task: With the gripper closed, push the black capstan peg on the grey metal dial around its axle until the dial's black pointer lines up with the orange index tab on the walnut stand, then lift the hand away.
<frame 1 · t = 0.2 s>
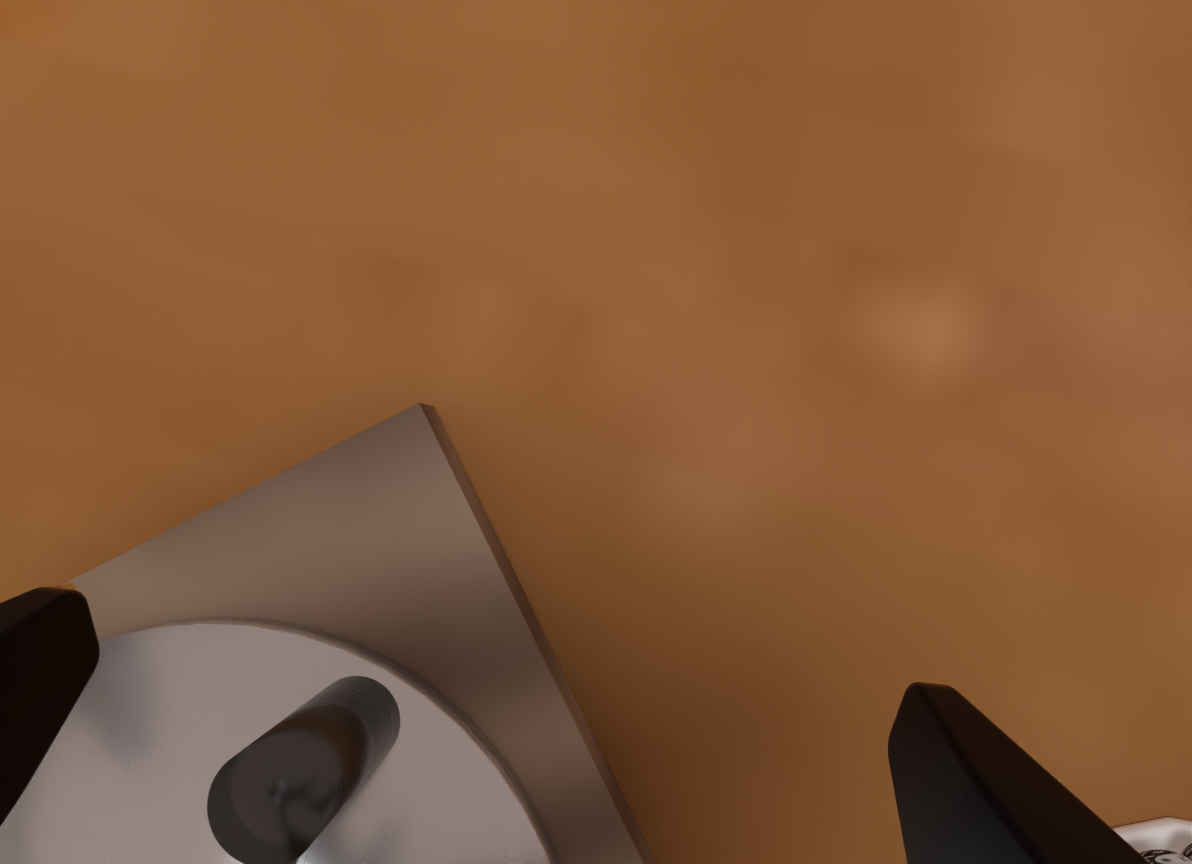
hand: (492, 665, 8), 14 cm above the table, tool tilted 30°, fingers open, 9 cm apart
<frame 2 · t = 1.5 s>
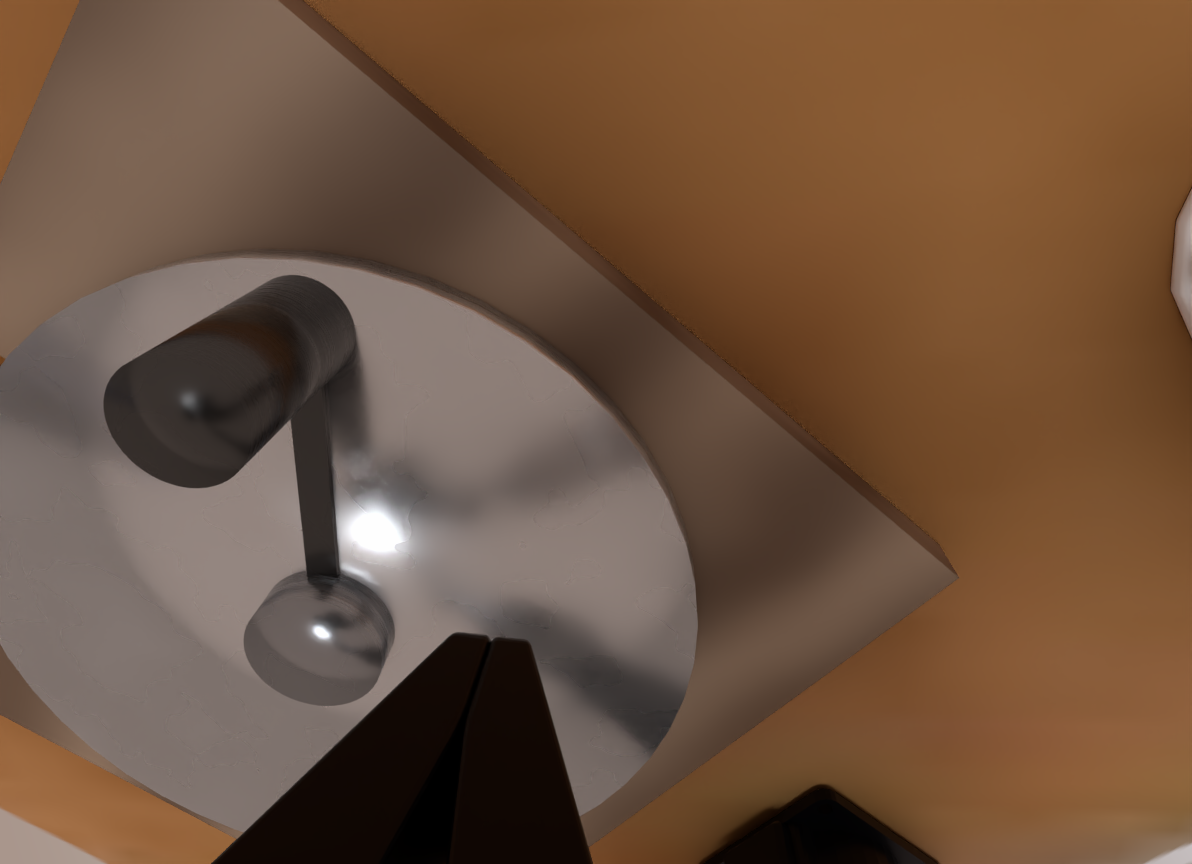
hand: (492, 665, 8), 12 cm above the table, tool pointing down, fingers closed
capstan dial: (299, 677, 19), point 5 cm above the table, hinge at -55.0°
walnut stand: (362, 566, 23), on the table
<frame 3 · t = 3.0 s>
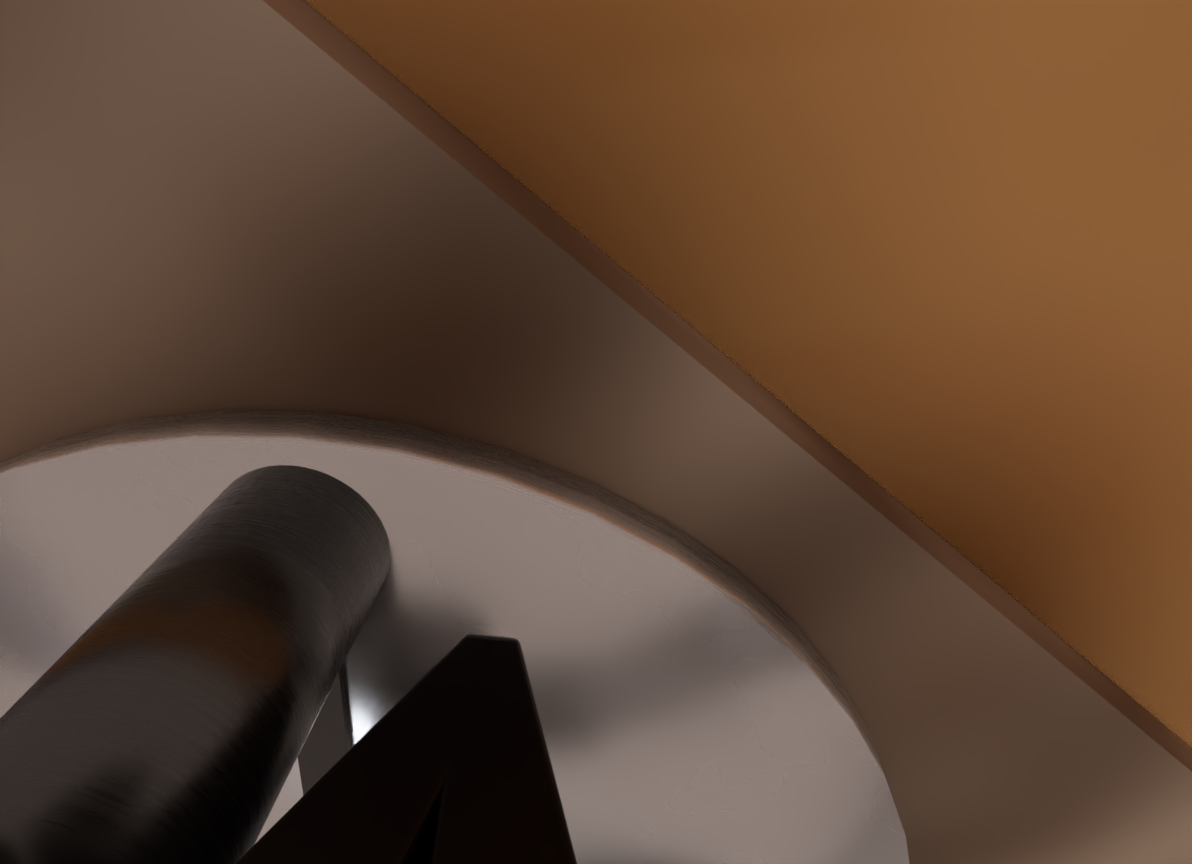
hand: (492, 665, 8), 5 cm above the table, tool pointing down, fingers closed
walnut stand: (392, 803, 16), on the table
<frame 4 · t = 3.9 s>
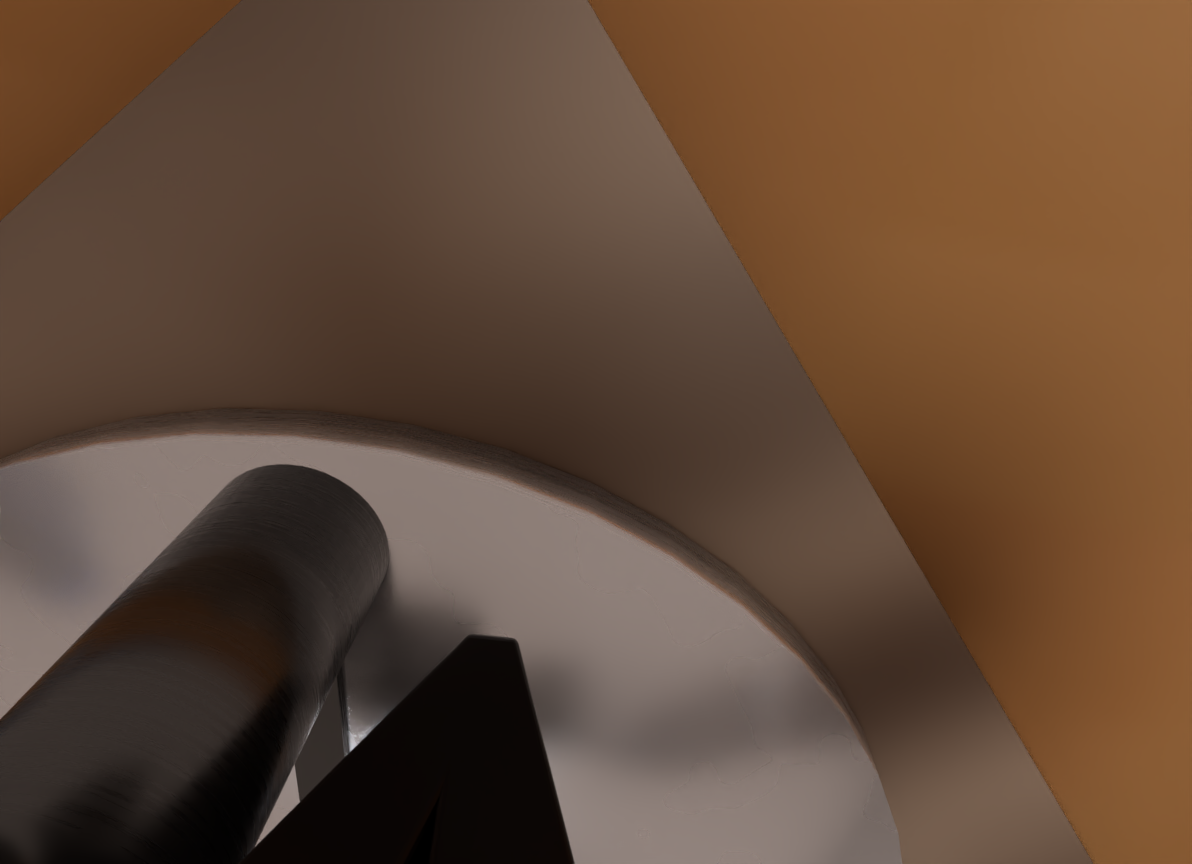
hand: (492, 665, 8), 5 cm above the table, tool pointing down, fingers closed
walnut stand: (385, 802, 16), on the table
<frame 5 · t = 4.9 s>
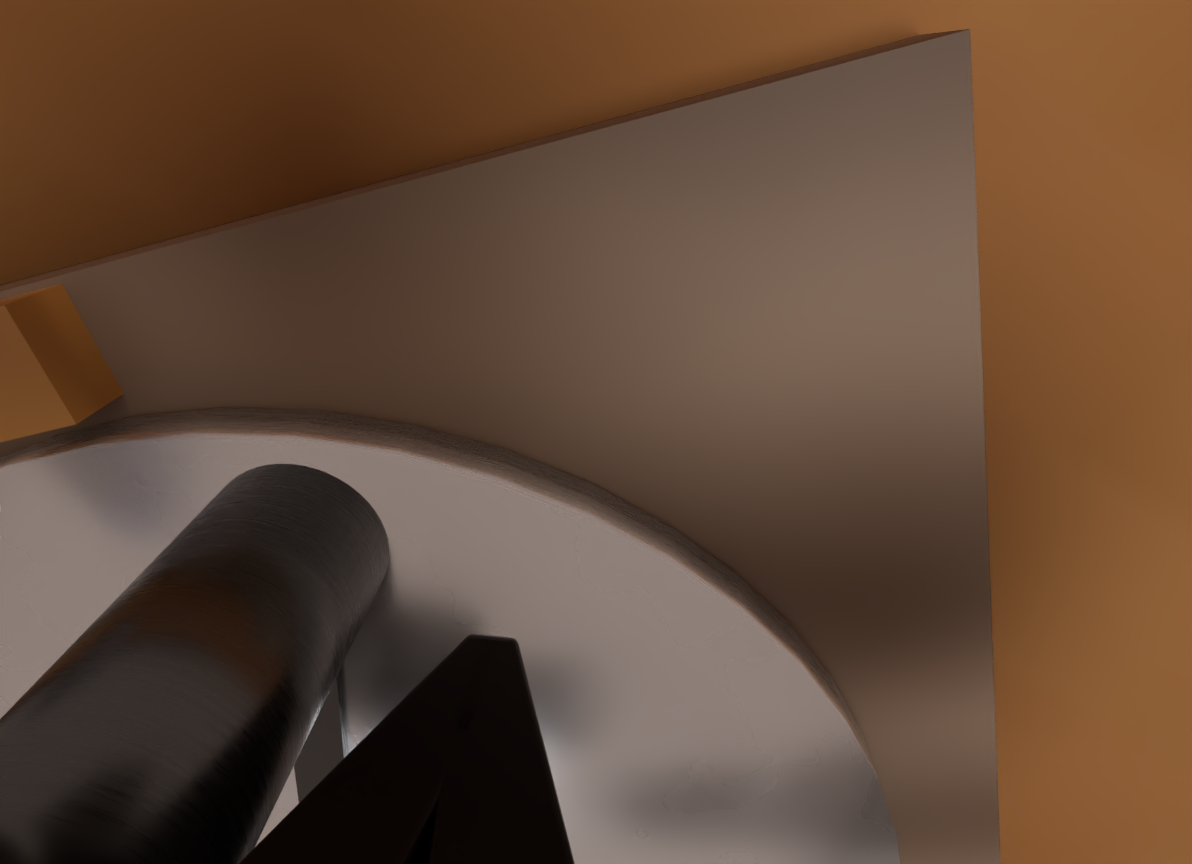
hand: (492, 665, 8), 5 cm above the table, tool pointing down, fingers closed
walnut stand: (384, 802, 16), on the table
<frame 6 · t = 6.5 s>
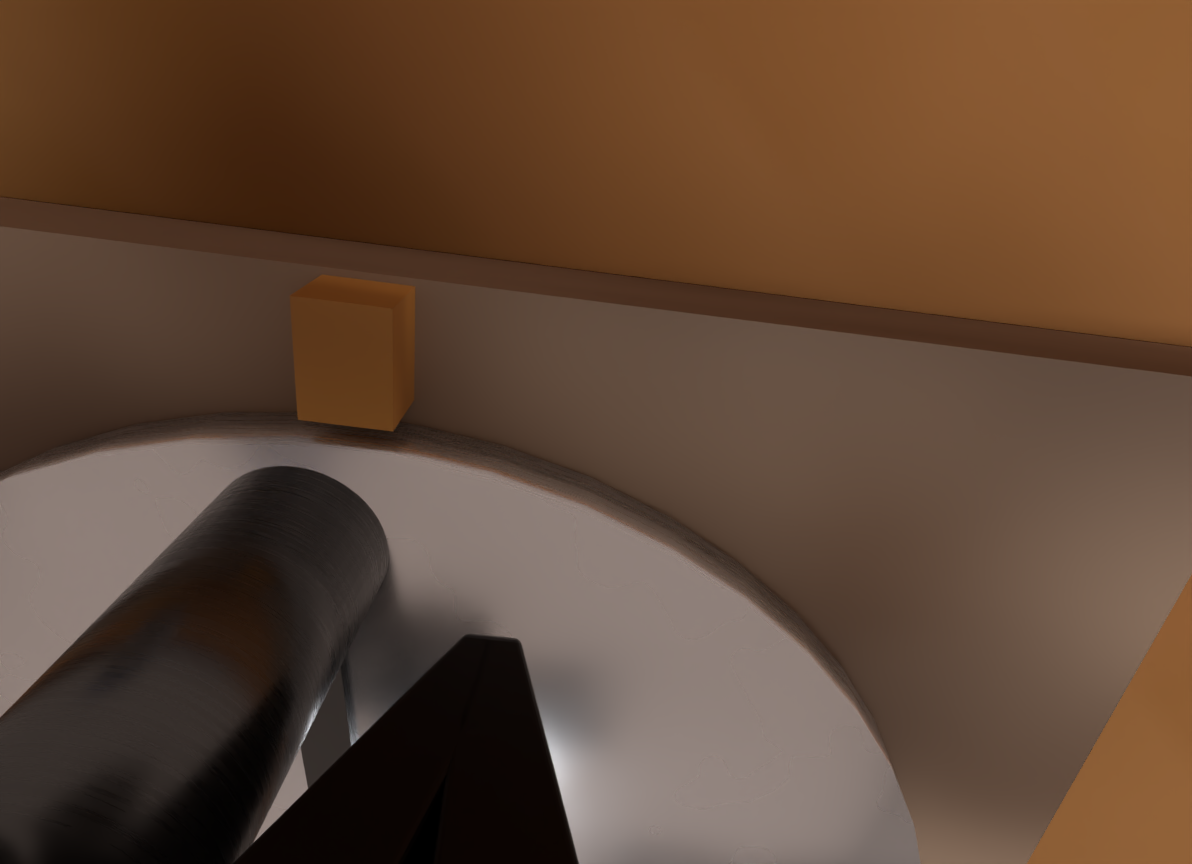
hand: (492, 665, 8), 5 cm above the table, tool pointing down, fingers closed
walnut stand: (400, 804, 16), on the table
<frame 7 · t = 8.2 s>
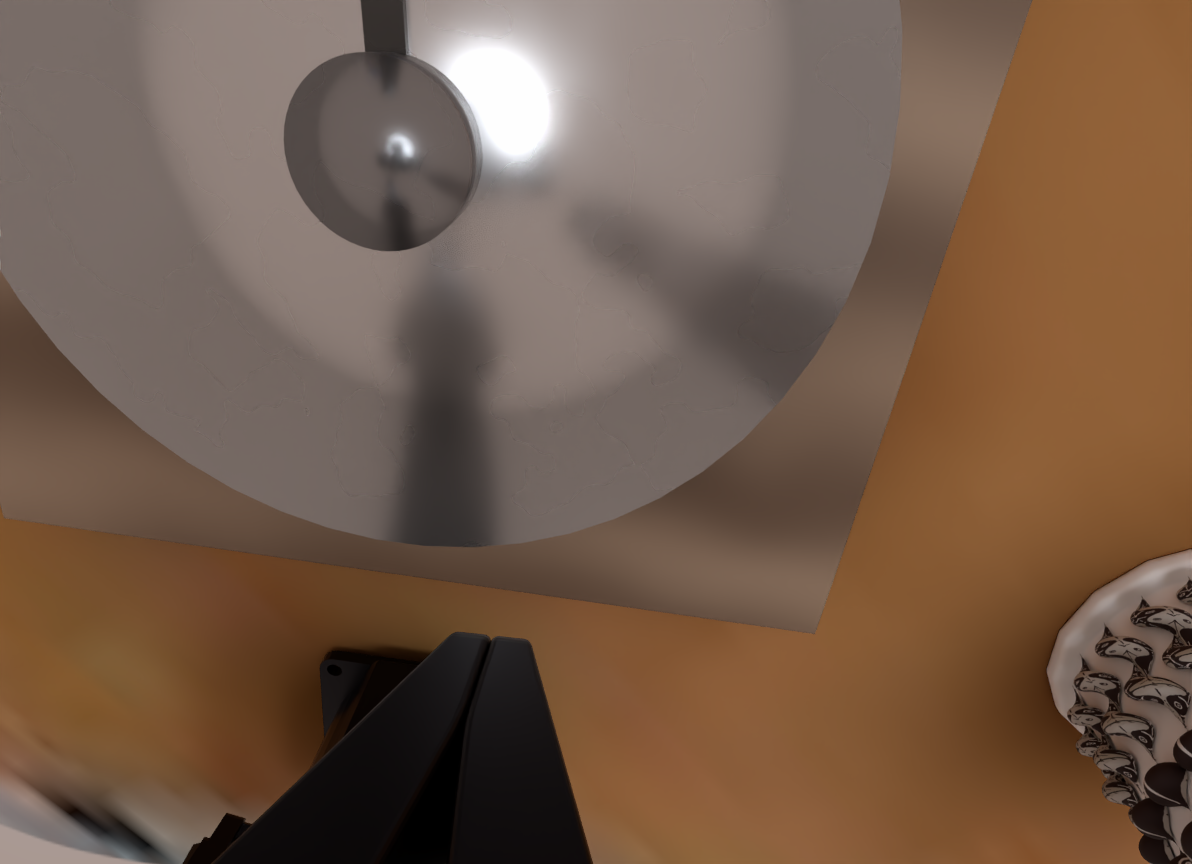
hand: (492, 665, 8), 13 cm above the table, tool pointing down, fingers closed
decorative candle: (1186, 650, 23), on the table
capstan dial: (362, 163, 14), point 5 cm above the table, hinge at 4.4°
walnut stand: (429, 135, 18), on the table
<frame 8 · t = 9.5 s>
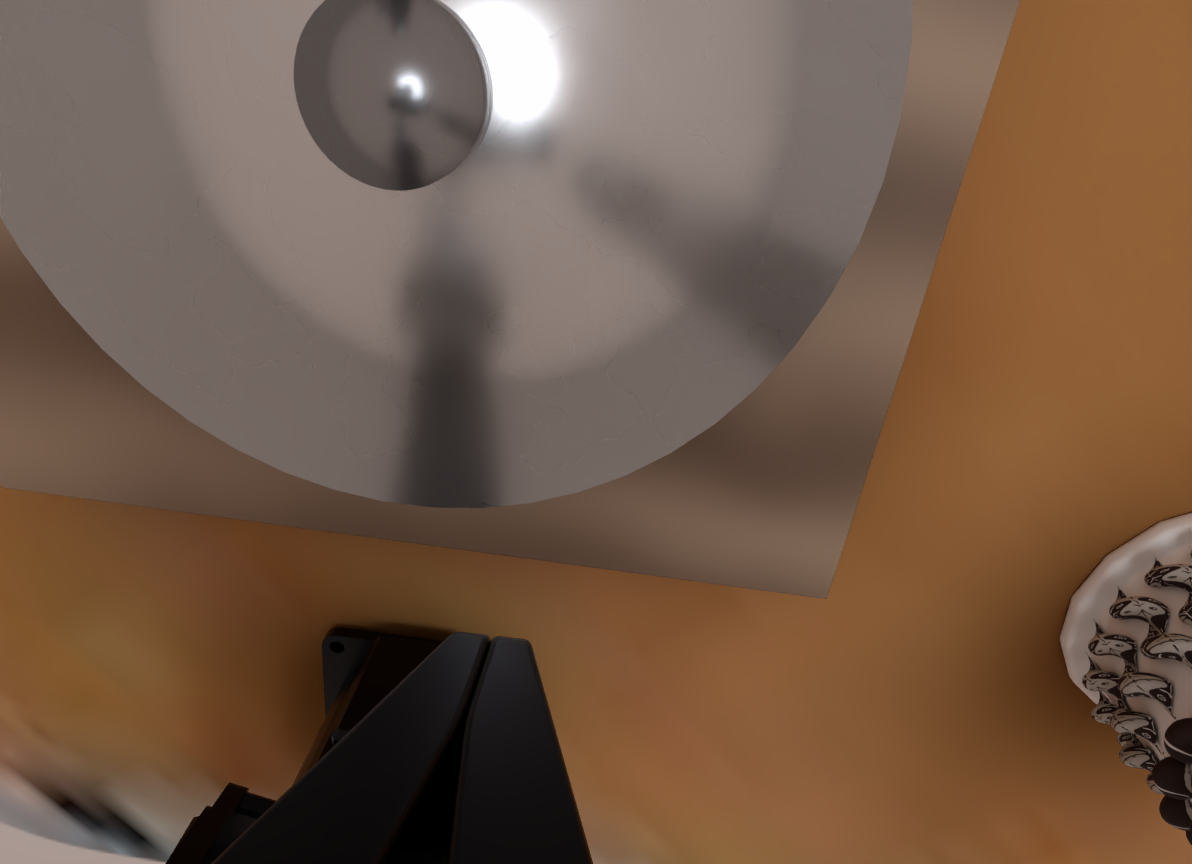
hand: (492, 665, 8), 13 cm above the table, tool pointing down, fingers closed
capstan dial: (373, 93, 14), point 5 cm above the table, hinge at 4.4°
walnut stand: (437, 86, 18), on the table
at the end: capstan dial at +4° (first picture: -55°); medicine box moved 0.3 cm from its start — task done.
